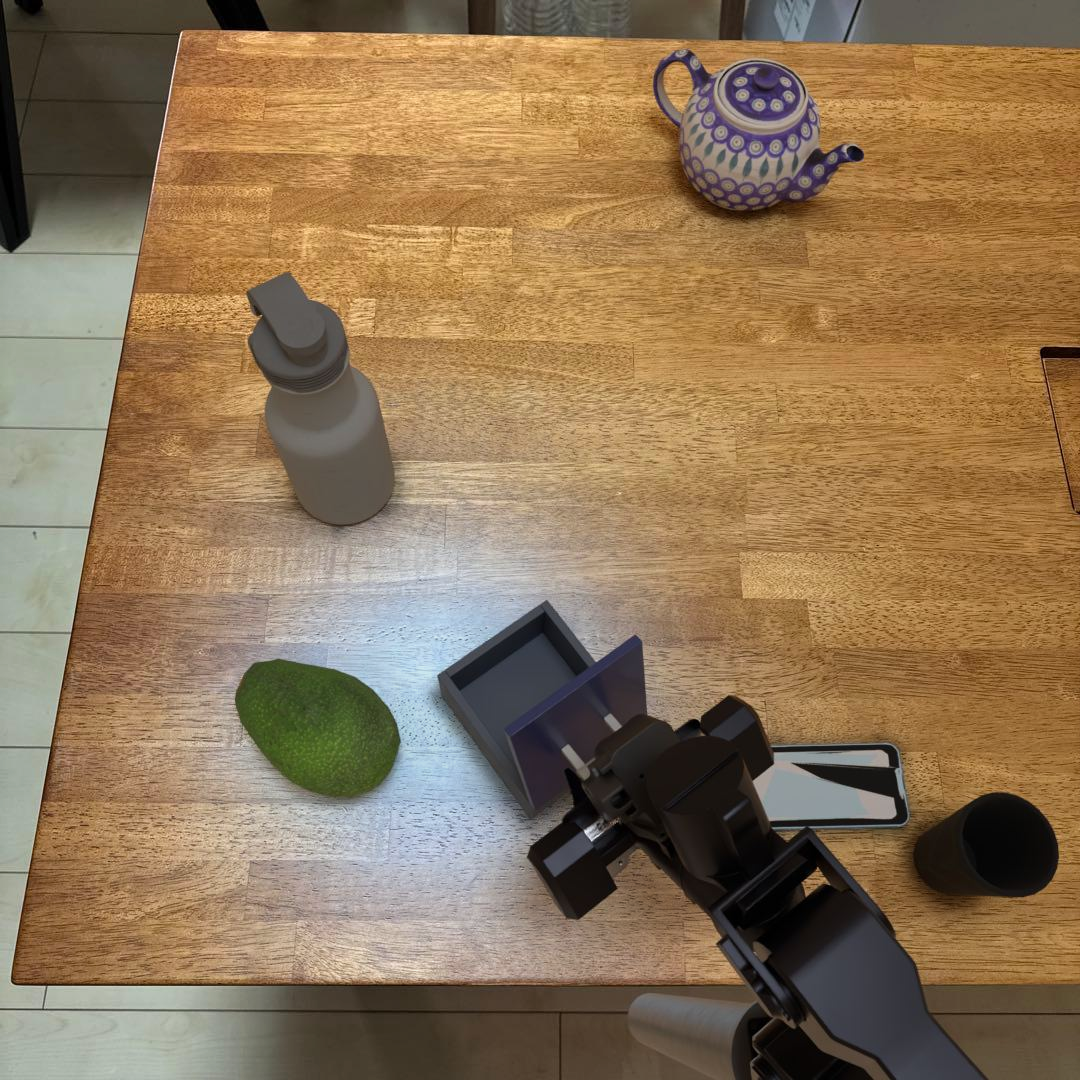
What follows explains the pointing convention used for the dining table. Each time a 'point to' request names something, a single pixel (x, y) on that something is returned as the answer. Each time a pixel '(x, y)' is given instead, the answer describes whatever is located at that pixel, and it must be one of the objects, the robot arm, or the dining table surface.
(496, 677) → the box
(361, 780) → the fruit
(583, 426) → the dining table surface
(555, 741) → the lid
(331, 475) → the water bottle
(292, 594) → the dining table surface
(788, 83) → the teapot
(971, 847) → the cup
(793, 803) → the smartphone
